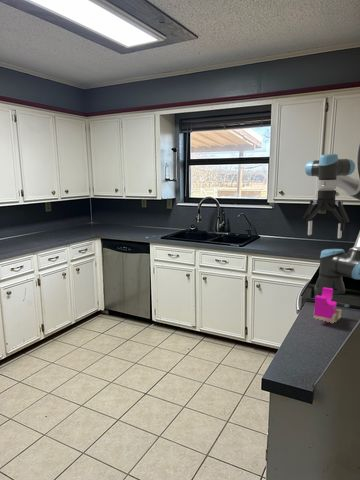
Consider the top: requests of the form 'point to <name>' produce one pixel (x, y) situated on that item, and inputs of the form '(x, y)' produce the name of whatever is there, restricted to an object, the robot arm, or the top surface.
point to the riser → (334, 318)
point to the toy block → (325, 304)
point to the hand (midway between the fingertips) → (324, 236)
